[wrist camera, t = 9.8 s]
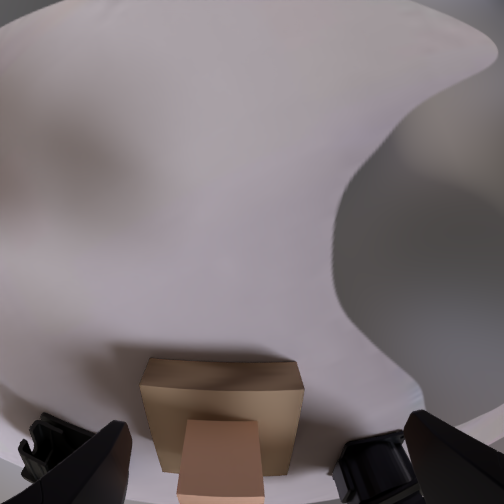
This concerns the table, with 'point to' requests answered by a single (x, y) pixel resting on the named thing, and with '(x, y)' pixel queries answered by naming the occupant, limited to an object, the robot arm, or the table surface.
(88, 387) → the table surface
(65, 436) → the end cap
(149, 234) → the table surface
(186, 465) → the terracotta block
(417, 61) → the table surface
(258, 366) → the tan block
